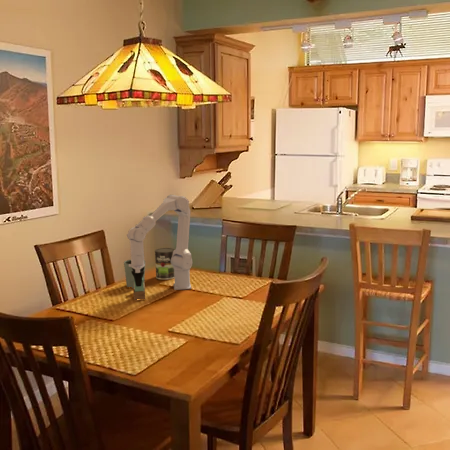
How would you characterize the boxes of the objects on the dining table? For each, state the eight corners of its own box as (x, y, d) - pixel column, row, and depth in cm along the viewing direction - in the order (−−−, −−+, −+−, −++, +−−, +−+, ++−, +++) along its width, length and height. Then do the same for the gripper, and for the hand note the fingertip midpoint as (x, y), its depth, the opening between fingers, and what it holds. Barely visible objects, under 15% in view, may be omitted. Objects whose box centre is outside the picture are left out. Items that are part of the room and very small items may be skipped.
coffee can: (173, 280, 273) (172, 252, 271) (153, 279, 275) (152, 252, 273) (178, 274, 283) (177, 247, 281) (159, 274, 285) (158, 247, 283)
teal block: (134, 289, 246) (134, 278, 246) (143, 288, 247) (143, 277, 246) (134, 291, 242) (134, 280, 242) (143, 290, 243) (143, 279, 242)
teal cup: (121, 288, 262) (120, 263, 260) (130, 282, 272) (128, 258, 269) (141, 289, 260) (140, 264, 257) (149, 283, 269) (148, 259, 267)
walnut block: (133, 297, 247) (133, 288, 247) (145, 296, 248) (144, 288, 248) (133, 300, 243) (133, 292, 242) (145, 300, 243) (144, 291, 243)
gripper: (128, 251, 248) (130, 280, 251) (127, 259, 234) (129, 289, 237) (144, 250, 249) (145, 279, 252) (144, 258, 235) (145, 288, 238)
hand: (138, 284), depth 244 cm, fingers open, 5 cm apart
